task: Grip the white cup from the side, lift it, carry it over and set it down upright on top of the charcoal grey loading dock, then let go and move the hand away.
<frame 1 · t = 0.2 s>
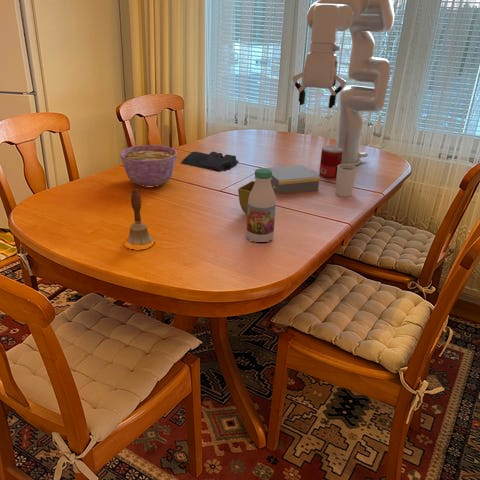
hand: (316, 105, 148), 30 cm above the table, tool pointing down, fingers open, 9 cm apart
hand bell: (139, 244, 125), on the table
loading dock: (289, 185, 169), on the table
bowl of food: (150, 184, 166), on the table
white cup: (343, 194, 163), on the table
milk bottle: (259, 238, 130), on the table
dark slate chunk: (210, 164, 190), on the table
canned food: (329, 176, 181), on the table
flower pot: (255, 214, 145), on the table
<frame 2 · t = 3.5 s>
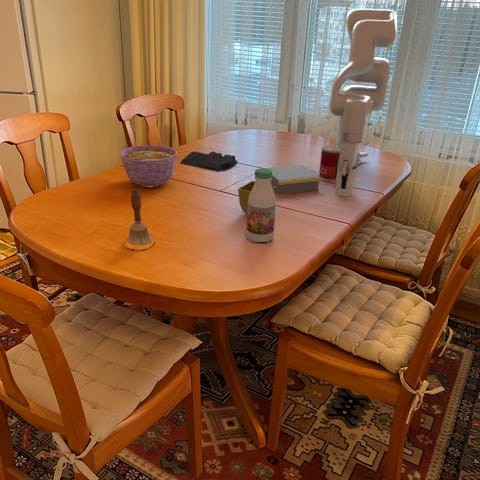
hand: (344, 187, 162), 2 cm above the table, tool pointing down, fingers open, 3 cm apart
white cup: (343, 194, 163), on the table, touching gripper
everything else where it was.
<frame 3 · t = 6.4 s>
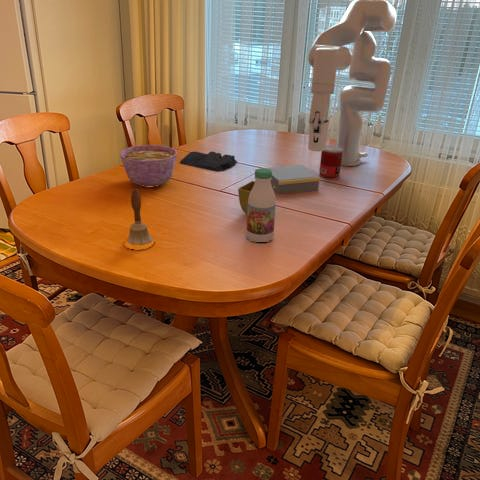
hand: (316, 142, 159), 17 cm above the table, tool pointing down, fingers closed on white cup, 2 cm apart
white cup: (316, 149, 161), point 15 cm above the table, touching gripper
everything else where it was.
when the fingers open (8 cm above the table, at t = 9.3 s): white cup stays where it is, resting on loading dock.
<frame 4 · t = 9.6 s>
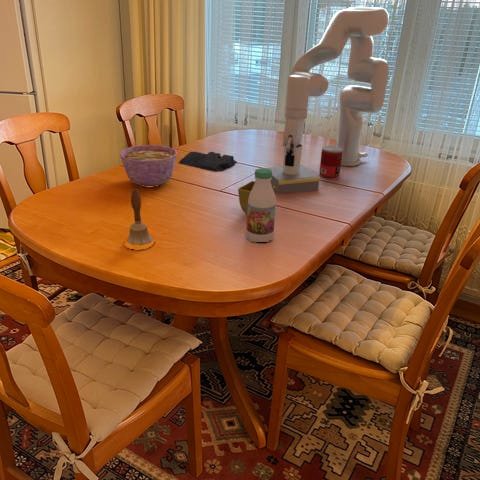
hand: (291, 162, 165), 9 cm above the table, tool pointing down, fingers open, 6 cm apart
white cup: (290, 172, 167), point 5 cm above the table, touching loading dock
everything else where it was.
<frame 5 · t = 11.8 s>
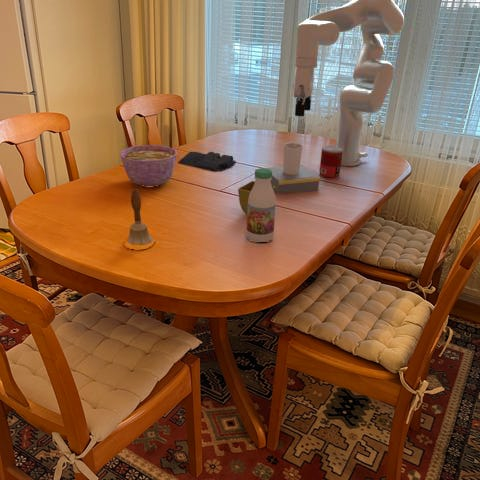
hand: (302, 113, 164), 25 cm above the table, tool pointing down, fingers open, 9 cm apart
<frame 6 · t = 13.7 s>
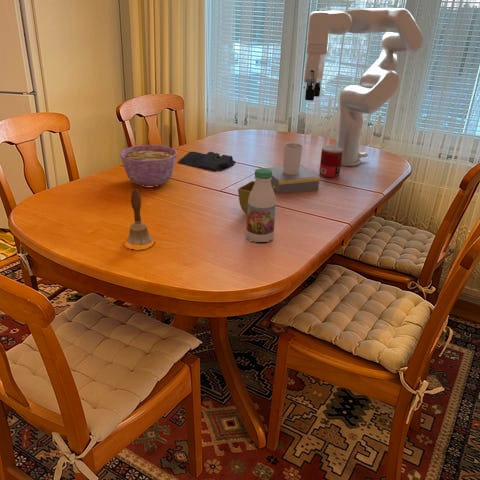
hand: (312, 98, 173), 28 cm above the table, tool pointing down, fingers open, 9 cm apart
at the end: white cup inside the target area (0.3 cm from its centre), point 4.8 cm above the table; white cup tilted 0°; the gripper is holding nothing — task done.
